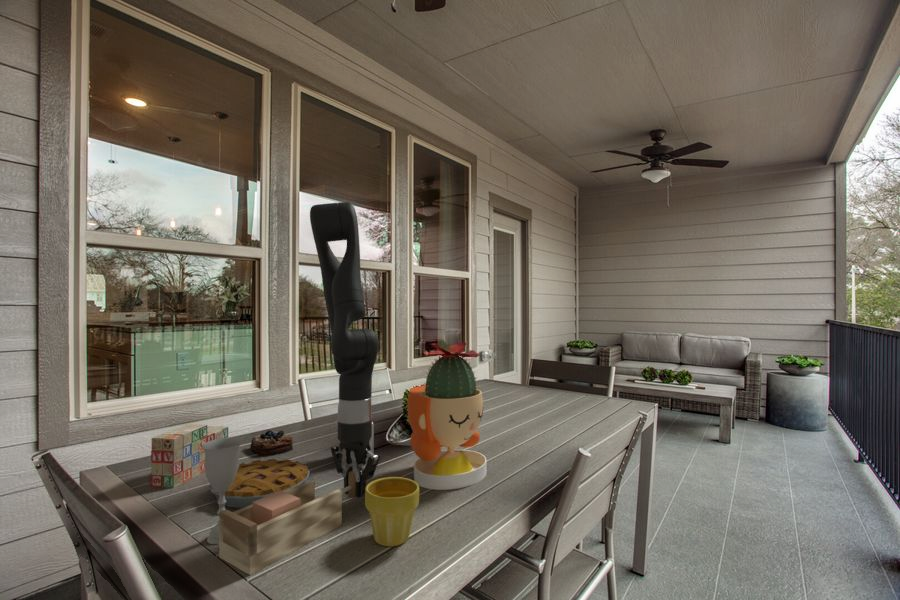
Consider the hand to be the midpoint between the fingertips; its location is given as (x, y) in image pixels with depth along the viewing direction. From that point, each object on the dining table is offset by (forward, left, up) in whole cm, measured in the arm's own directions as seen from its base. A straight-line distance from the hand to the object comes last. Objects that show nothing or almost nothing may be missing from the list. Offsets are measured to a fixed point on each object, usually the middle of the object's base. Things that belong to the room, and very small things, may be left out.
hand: (354, 494), depth 100 cm
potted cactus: (-27, +6, -2) cm, 28 cm away
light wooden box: (+18, 0, -2) cm, 18 cm away
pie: (+7, -24, -3) cm, 25 cm away
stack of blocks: (+10, -50, -3) cm, 51 cm away
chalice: (+24, -11, -2) cm, 27 cm away
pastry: (-13, -49, -3) cm, 50 cm away
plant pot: (+6, +16, -2) cm, 18 cm away
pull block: (+11, 0, 0) cm, 11 cm away
